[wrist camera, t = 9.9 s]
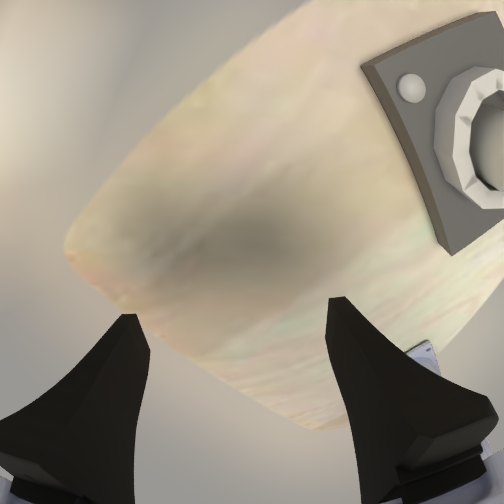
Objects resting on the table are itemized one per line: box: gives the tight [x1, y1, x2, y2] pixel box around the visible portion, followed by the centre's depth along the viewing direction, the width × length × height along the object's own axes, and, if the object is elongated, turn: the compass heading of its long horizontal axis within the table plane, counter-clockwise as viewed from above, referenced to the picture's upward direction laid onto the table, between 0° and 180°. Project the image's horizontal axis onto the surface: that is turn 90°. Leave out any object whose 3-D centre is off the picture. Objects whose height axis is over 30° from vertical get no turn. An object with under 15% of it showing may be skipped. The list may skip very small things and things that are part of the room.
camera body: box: [361, 11, 504, 256], centre depth 15 cm, size 14×11×4 cm
